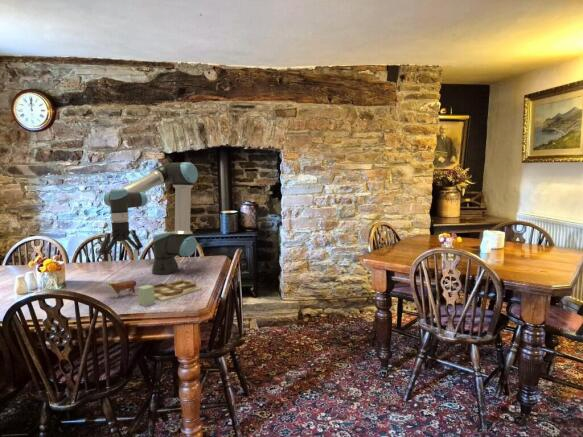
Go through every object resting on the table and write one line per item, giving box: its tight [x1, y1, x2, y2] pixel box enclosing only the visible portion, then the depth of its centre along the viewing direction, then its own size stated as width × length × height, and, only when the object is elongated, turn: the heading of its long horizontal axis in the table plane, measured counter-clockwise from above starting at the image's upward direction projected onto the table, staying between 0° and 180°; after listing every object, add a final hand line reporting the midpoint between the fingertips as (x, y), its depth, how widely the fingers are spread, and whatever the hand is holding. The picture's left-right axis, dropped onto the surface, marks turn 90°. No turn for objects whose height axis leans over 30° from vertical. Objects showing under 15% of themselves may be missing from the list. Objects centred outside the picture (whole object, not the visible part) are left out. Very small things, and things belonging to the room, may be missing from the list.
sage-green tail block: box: [137, 284, 156, 307], centre depth 179 cm, size 5×5×8 cm
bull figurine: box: [105, 279, 137, 299], centre depth 191 cm, size 4×13×8 cm, turn 111°
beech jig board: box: [151, 279, 203, 302], centre depth 197 cm, size 20×22×2 cm
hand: (122, 265), depth 189 cm, fingers open, 13 cm apart
